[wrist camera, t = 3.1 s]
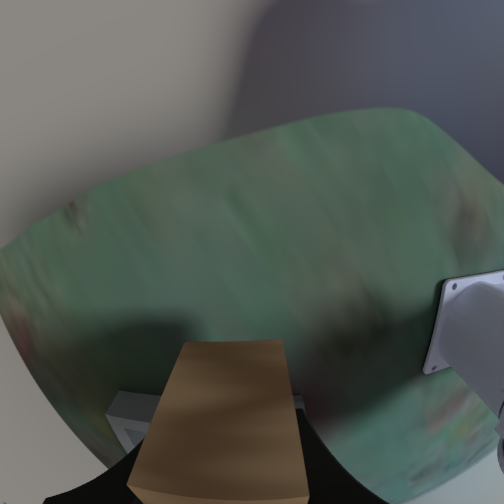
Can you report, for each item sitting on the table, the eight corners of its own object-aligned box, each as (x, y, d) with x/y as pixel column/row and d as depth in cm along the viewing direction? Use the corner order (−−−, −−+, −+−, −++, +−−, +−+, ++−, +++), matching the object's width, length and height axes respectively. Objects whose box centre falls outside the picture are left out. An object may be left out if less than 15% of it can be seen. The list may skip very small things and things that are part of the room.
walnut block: (282, 339, 10) (309, 495, 4) (281, 431, 12) (291, 545, 5) (184, 341, 11) (126, 484, 4) (205, 432, 12) (186, 542, 5)
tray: (302, 394, 17) (308, 424, 14) (293, 472, 20) (296, 495, 17) (119, 390, 17) (104, 414, 14) (157, 468, 20) (151, 488, 17)
